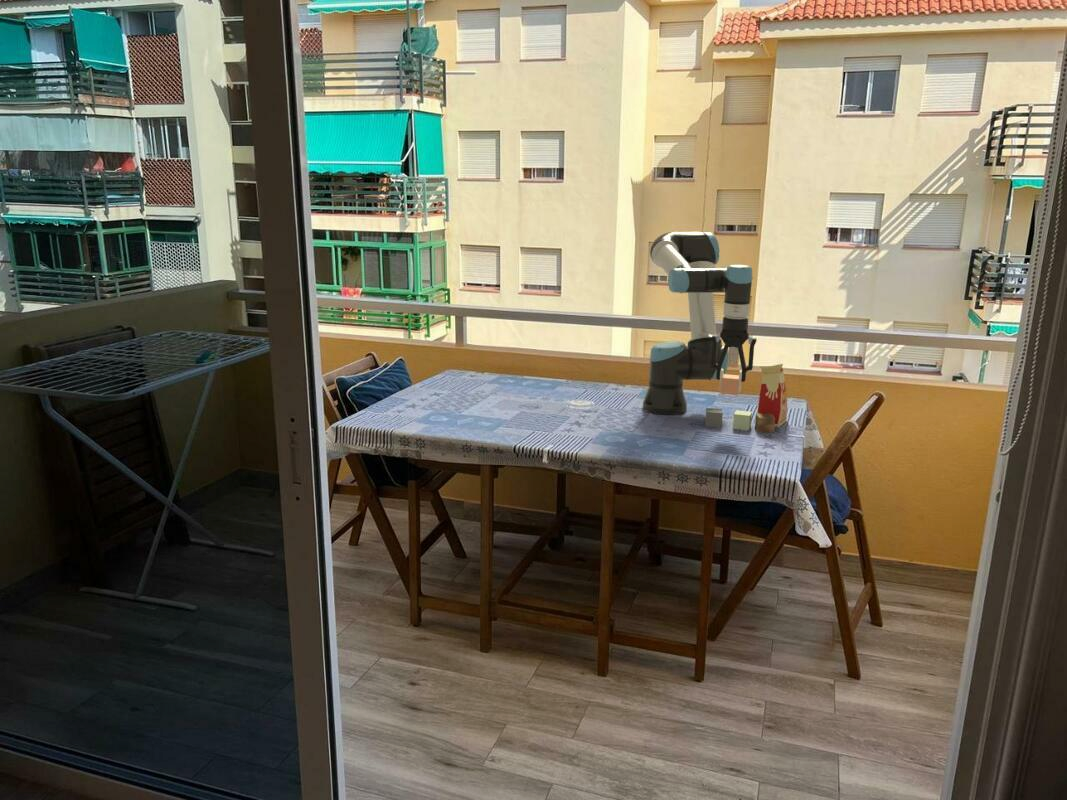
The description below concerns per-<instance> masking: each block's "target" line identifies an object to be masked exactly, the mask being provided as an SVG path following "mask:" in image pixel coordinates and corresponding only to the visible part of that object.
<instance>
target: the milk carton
mask: <svg viewBox="0 0 1067 800" xmlns="http://www.w3.org/2000/svg"><path fill="white" fill-rule="evenodd" d="M783 365H784V363H779V364H774V365H760V366H759V368H760V370H761V381H760V388H759V394H758V402H757V410H756V411H757V412H756V413H761V414H773V416H774V417H775V426H774V427H776V426H777V428H779V427H781V426H782V425H784V424H785V423H786V422H785V421H786V420H787V421H788V399H787V397H788V396H787V386H786V381H785V380H786V379H785V373H784V368H783ZM755 420H756V418H755ZM780 425H781V426H780Z"/></svg>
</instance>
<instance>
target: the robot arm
mask: <svg viewBox="0 0 1067 800" xmlns="http://www.w3.org/2000/svg"><path fill="white" fill-rule="evenodd" d="M649 255H650V258H651V261H652V262H653V264H655V265H656V266H657V267H660V268H661V269H663V271H664V272H665V273H666V274H667V276H668V277H667V285H668V290H669V291H670V292H672V293H676V294H677V293H678V294H684V293H685V294H687V297H688V311H689V323H690V324H689V325H690V334H691V335H690V337H691V338H690V339H689V340H688V341H687V345H686V344H685V342H684V341H680V340H679V341H678V340H677V341H676V340H675V341H674V340H672V341H671V340H670V341H663V342H659V343H656V344H654V345H653V346H652V347H651V348H650V354H649V355H650V356H649V359H648V360H649V371H648V372H649V373H648V374H649V377H648V378H649V379H648V388H647V390H646V393H645V396H644V397H643V398H644V399H643V402H642V410H644V411H645V412H648V413H651V414H655V415H669V416H670V415H679V414H683V413H685V412H686V411H687V407H688V403H687V400H686V395H685V392H684V388H683V387H684V386H683V384H684V381H689V380H690V381H694V380H695V381H696V380H697V381H701V380H702V381H704V380H708V381H711V380H716V381H717V380H719V384H718V392H721V385H722V377H723V374H727V373H726V372H727V370H728V366H729V360H730V352H729V348H736V349H737V351H738V357H739V362H740V368H741V369H740V370H739V373H738V375H739V384H738V394H740V393H741V390H742V383H744V382H745V381H746V380H747V379H746V376H747V372H748V371H752V370H753V367H754V366H753V365H754V355H755V353H754V352H755V345H756V343H757V341H758V340H757V337H753V336H750V335H749V333H748V327H749V318H748V317H749V316H750V305H751V294H752V293H751V292H752V284H753V283H752V282H753V268H752V266H750V265H746V264H730V265H728V266H720V267H716V265H717V264H718V262H719V260H720V245H719V241H718V239H717V237H716V235H715V234H714V233H713V232H711V231H710V232H709V231H708V232H707V231H706V232H705V231H670V232H665V233H662V234H661V235H660V236H658V237H657V238H655V239H654V241H653V242H652V244H651V246H650V249H649ZM715 267H716V268H715ZM714 293H717V294H718V293H719V294H720V293H723V294H724V301H723V317H722V328H721V332H720V333H719V334H717V328H716V327H717V326H716V325H717V324H716V315H715V305H714V304H715V303H714ZM746 341H748V345H750V346H749V350H748V351H749V353H748V365H747V363H746V359H745V353H744V347H743V345H744V344H745V343H746ZM723 343H724V344H723Z"/></svg>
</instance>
